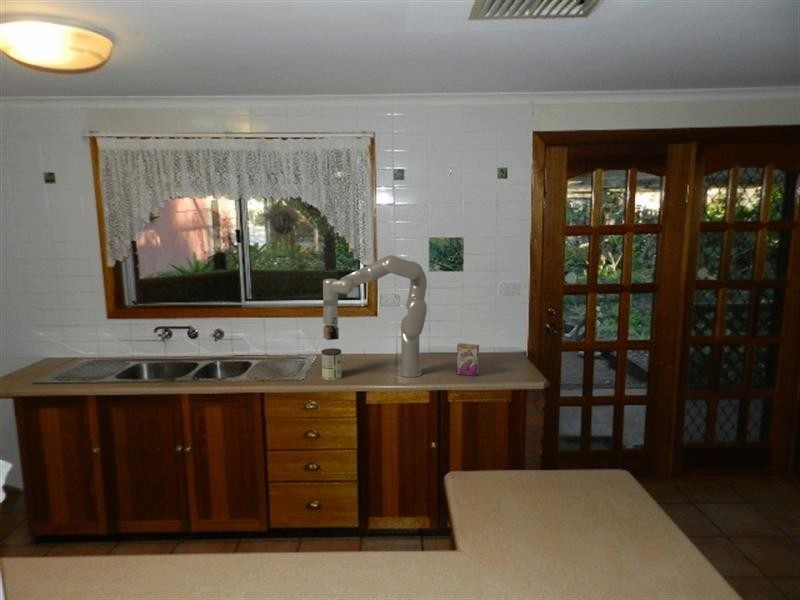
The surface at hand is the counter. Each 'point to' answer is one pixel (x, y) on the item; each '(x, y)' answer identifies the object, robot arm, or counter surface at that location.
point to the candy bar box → (467, 359)
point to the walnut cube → (327, 332)
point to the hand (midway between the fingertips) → (331, 337)
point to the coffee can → (331, 364)
